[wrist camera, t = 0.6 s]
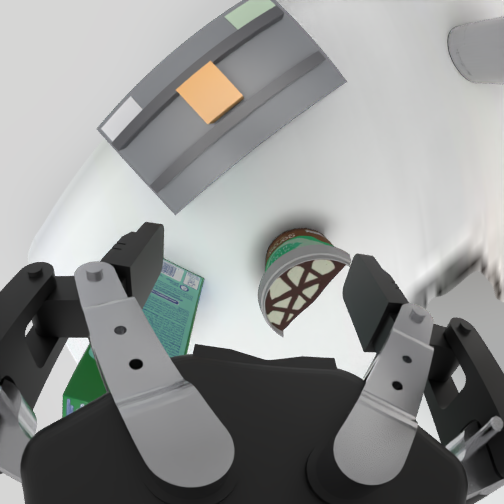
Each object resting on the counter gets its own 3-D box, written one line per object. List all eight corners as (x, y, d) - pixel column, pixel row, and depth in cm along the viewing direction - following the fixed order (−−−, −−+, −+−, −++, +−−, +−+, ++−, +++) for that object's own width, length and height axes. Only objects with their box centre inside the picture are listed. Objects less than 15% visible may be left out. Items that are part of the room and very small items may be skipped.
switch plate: (261, 0, 25) (263, -19, 19) (336, 84, 29) (353, 79, 24) (111, 126, 31) (88, 130, 26) (182, 204, 36) (171, 221, 31)
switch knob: (215, 68, 25) (210, 60, 21) (243, 98, 27) (242, 95, 23) (185, 93, 26) (175, 89, 22) (213, 123, 28) (207, 124, 24)
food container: (294, 199, 36) (310, 229, 27) (331, 226, 38) (355, 263, 29) (238, 270, 40) (235, 316, 31) (273, 292, 42) (280, 340, 33)
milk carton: (180, 320, 44) (144, 468, 22) (128, 295, 42) (61, 433, 20) (204, 278, 41) (169, 443, 18) (146, 249, 39) (61, 396, 16)
